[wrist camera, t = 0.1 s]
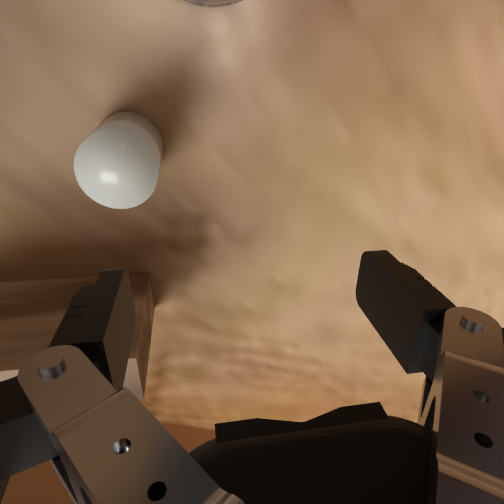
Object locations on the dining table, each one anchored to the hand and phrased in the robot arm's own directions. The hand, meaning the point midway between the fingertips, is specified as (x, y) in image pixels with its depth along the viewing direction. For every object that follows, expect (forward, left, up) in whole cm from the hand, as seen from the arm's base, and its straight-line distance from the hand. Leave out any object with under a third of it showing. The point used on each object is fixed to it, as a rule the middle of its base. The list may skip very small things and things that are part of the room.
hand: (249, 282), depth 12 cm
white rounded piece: (0, -6, -17) cm, 18 cm away
